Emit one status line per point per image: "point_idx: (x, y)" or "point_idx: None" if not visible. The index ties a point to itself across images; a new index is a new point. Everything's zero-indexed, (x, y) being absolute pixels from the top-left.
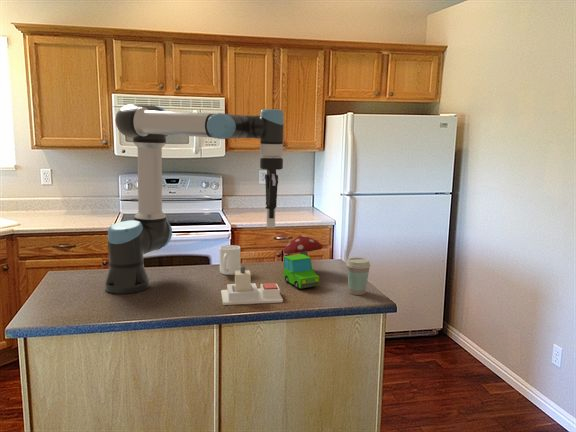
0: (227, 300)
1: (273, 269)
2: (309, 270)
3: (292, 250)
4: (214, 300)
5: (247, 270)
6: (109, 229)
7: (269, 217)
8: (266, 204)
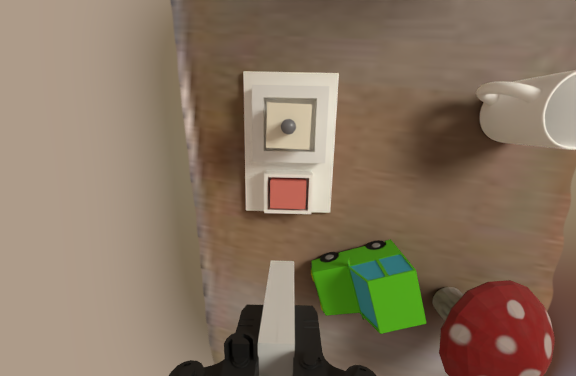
0: (257, 84)
1: (494, 231)
2: (359, 306)
3: (463, 305)
4: (279, 52)
5: (308, 143)
6: None
7: (251, 307)
8: (348, 369)
